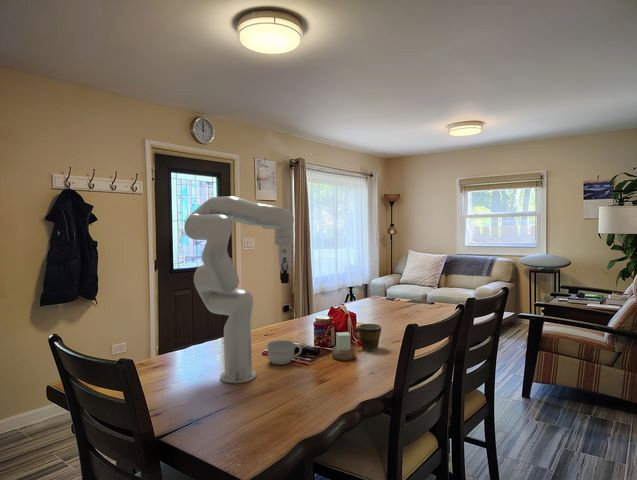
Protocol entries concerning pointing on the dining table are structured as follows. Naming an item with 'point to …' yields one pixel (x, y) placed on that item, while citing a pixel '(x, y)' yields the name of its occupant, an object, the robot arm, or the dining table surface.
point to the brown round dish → (343, 354)
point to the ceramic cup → (369, 336)
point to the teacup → (282, 351)
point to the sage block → (343, 341)
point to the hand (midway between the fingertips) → (284, 281)
